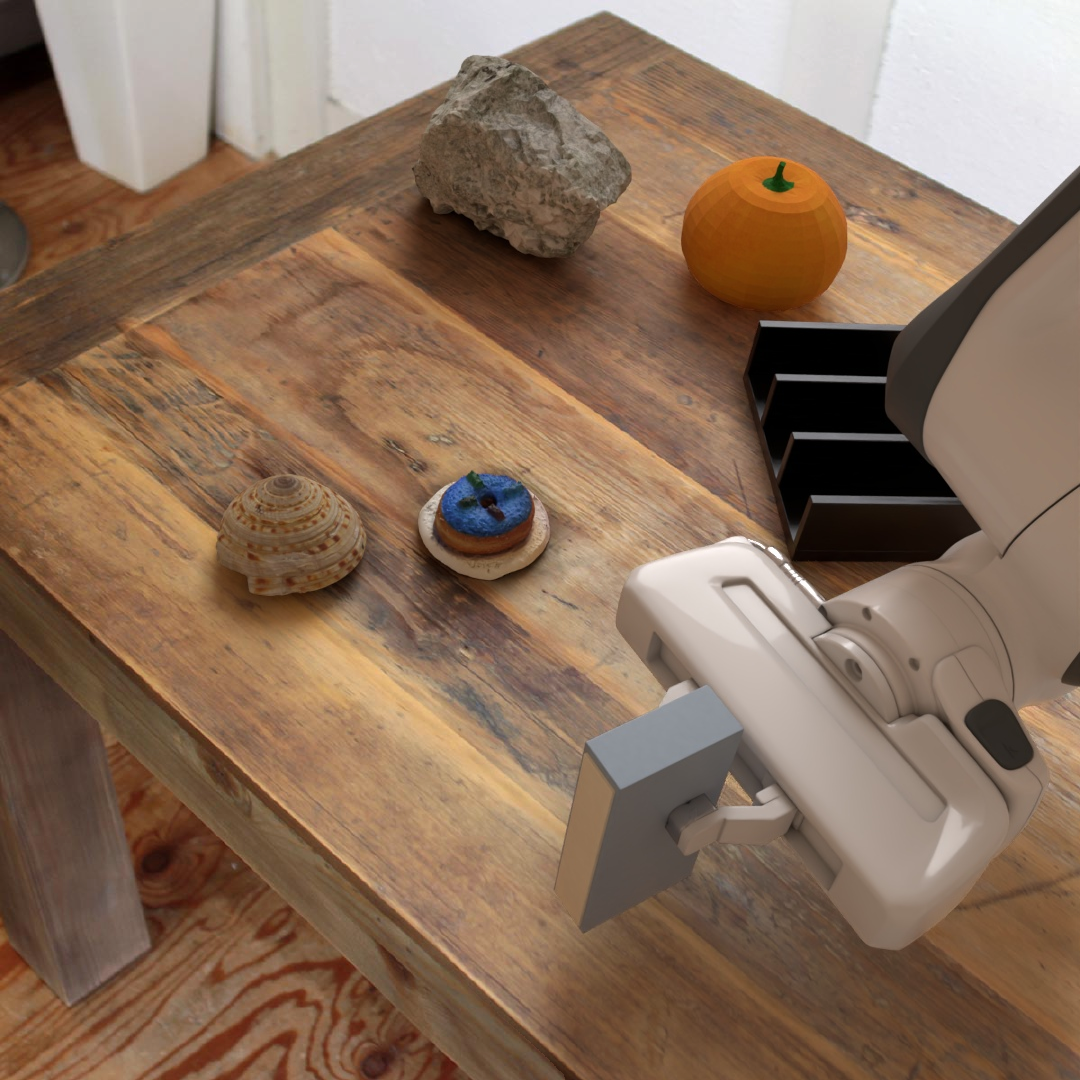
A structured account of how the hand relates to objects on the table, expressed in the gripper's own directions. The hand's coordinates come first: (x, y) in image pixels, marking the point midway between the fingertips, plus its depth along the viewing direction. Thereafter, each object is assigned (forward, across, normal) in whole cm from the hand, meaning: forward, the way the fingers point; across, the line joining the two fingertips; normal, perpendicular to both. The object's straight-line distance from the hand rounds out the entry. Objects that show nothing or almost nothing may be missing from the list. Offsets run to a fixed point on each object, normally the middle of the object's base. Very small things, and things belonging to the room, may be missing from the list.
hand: (649, 798), depth 56 cm
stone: (-24, -50, +9) cm, 56 cm away
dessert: (-6, -24, +10) cm, 26 cm away
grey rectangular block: (0, 0, +7) cm, 7 cm away
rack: (-30, -18, +9) cm, 37 cm away
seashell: (+4, -27, +10) cm, 29 cm away
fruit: (-36, -36, +9) cm, 52 cm away
